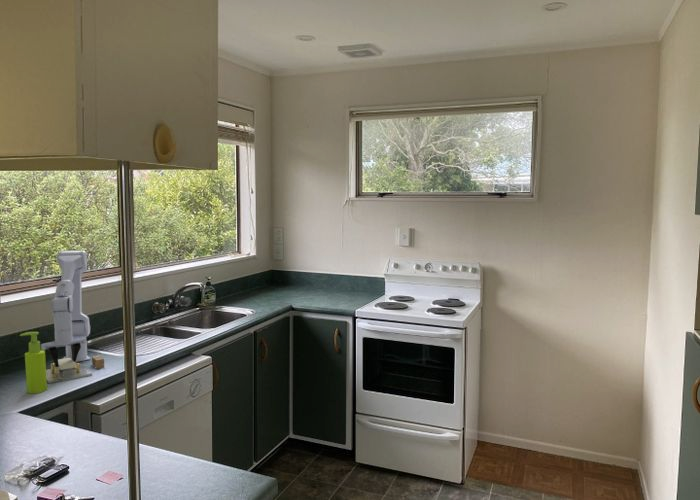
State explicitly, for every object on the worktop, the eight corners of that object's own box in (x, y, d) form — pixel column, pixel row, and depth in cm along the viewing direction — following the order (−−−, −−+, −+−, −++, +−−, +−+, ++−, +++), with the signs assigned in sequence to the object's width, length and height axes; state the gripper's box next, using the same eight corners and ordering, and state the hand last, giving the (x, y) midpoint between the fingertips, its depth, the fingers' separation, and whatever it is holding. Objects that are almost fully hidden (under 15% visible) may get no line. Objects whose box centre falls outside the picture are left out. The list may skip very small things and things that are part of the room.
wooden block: (92, 364, 212) (91, 356, 211) (100, 363, 213) (99, 355, 213) (96, 368, 207) (96, 360, 207) (104, 367, 209) (103, 358, 208)
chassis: (40, 372, 202) (39, 362, 202) (81, 365, 211) (80, 355, 210) (49, 383, 190) (48, 372, 189) (92, 375, 198) (91, 364, 198)
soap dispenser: (25, 389, 184) (21, 331, 182) (48, 386, 187) (45, 329, 185) (21, 394, 179) (18, 335, 177) (45, 392, 181) (42, 333, 179)
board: (55, 364, 202) (55, 360, 201) (70, 361, 205) (69, 357, 205) (60, 369, 195) (60, 365, 195) (76, 367, 198) (75, 362, 198)
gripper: (43, 334, 191) (45, 372, 192) (87, 328, 200) (89, 364, 201) (39, 330, 197) (41, 367, 198) (82, 324, 206) (84, 360, 207)
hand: (65, 365), depth 200 cm, fingers closed on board, 5 cm apart
